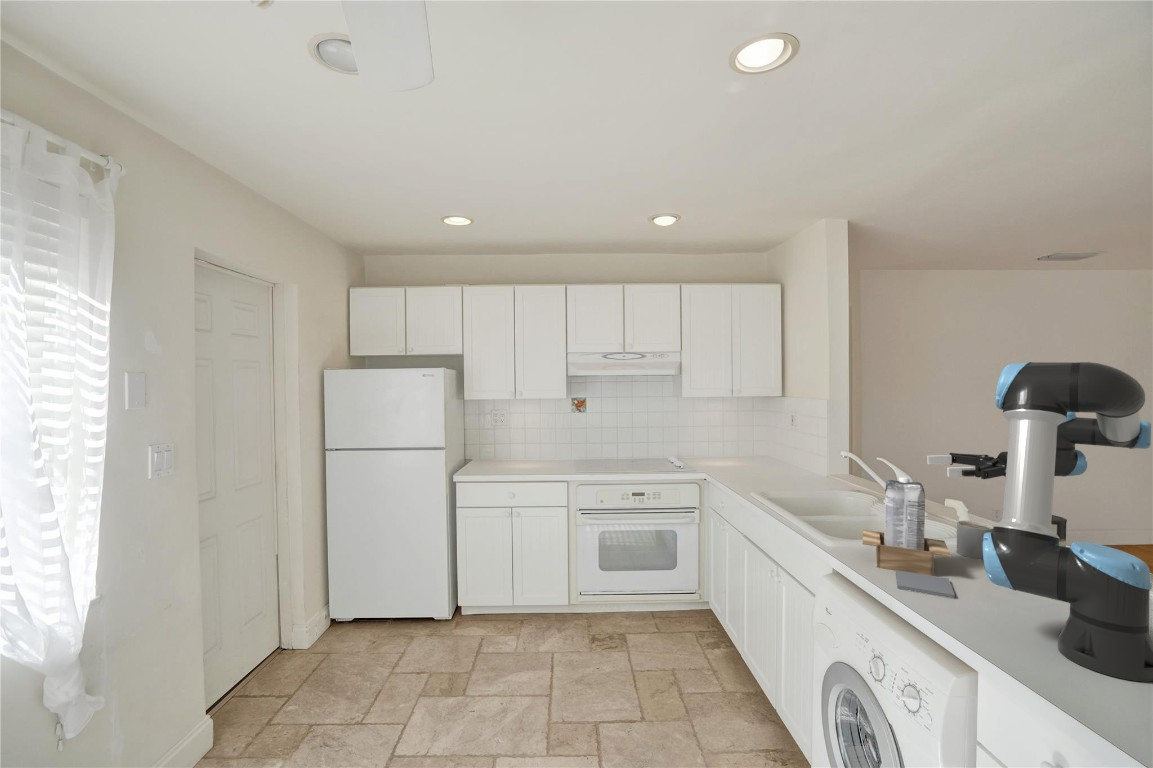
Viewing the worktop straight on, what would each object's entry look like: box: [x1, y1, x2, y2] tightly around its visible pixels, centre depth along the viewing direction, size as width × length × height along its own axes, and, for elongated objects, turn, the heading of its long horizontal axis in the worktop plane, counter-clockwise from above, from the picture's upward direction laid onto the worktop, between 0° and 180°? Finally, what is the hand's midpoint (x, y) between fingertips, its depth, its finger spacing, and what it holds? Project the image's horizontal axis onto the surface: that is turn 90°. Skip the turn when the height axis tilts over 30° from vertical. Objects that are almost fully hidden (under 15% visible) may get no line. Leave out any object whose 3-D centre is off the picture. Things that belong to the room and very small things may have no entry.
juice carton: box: [884, 476, 926, 551], centre depth 165 cm, size 9×10×27 cm
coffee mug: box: [955, 520, 994, 561], centre depth 173 cm, size 13×10×10 cm
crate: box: [862, 529, 952, 576], centre depth 165 cm, size 16×23×7 cm
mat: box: [895, 570, 956, 599], centre depth 149 cm, size 13×13×1 cm
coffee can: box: [1051, 514, 1068, 547], centre depth 169 cm, size 10×10×14 cm
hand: (937, 466), depth 160 cm, fingers open, 13 cm apart
